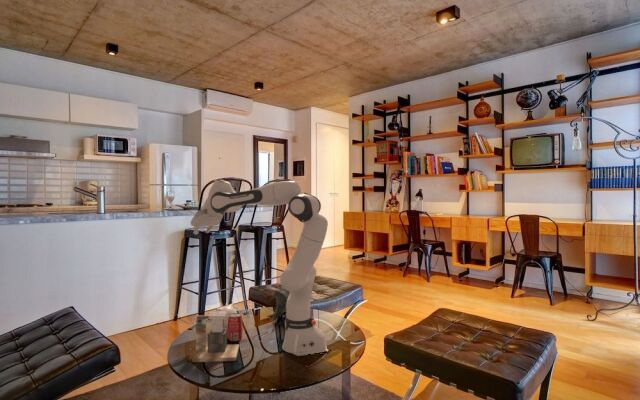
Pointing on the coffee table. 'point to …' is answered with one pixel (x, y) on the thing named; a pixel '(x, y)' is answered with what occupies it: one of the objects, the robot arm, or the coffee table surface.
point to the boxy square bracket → (216, 321)
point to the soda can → (235, 327)
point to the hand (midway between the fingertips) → (201, 233)
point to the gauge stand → (213, 345)
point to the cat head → (229, 311)
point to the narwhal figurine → (279, 302)
